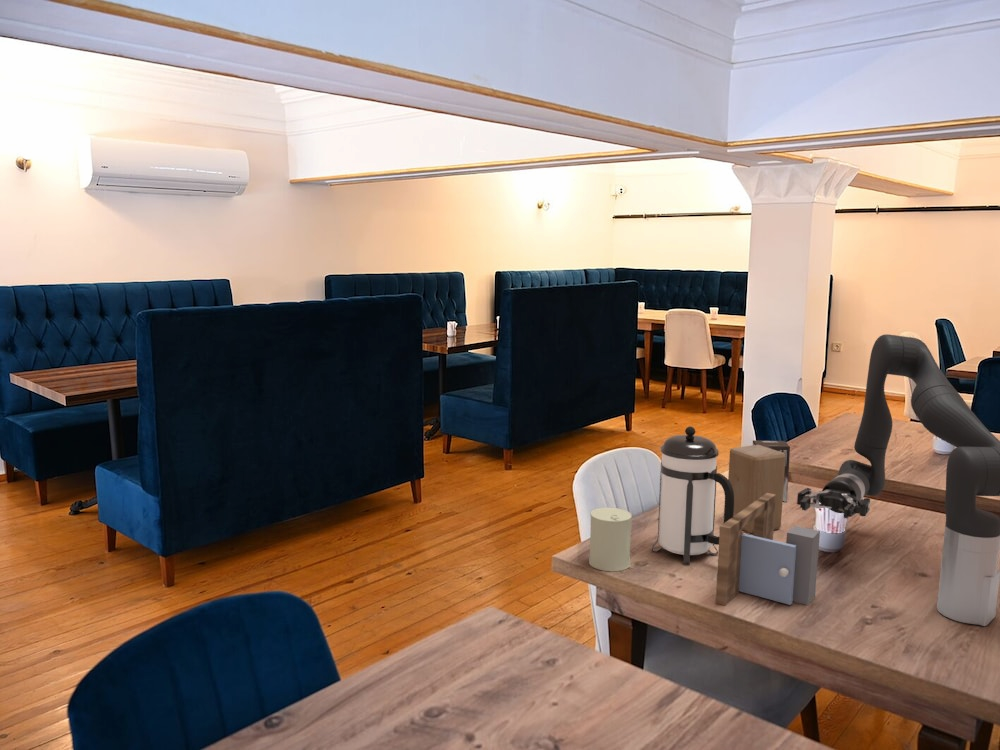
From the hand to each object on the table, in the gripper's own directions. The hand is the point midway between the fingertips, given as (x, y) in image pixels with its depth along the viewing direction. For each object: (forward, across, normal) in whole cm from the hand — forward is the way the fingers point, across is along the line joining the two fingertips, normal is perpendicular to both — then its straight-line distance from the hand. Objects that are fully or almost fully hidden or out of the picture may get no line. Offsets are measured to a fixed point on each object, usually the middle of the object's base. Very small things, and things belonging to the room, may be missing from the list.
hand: (824, 509), depth 168 cm
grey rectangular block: (+13, -1, +15) cm, 20 cm away
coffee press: (+5, -28, +15) cm, 32 cm away
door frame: (+12, -12, +15) cm, 23 cm away
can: (+21, -40, +15) cm, 47 cm away
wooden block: (-23, -23, +15) cm, 35 cm away
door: (+18, -7, +15) cm, 24 cm away
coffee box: (-48, -27, +14) cm, 57 cm away
